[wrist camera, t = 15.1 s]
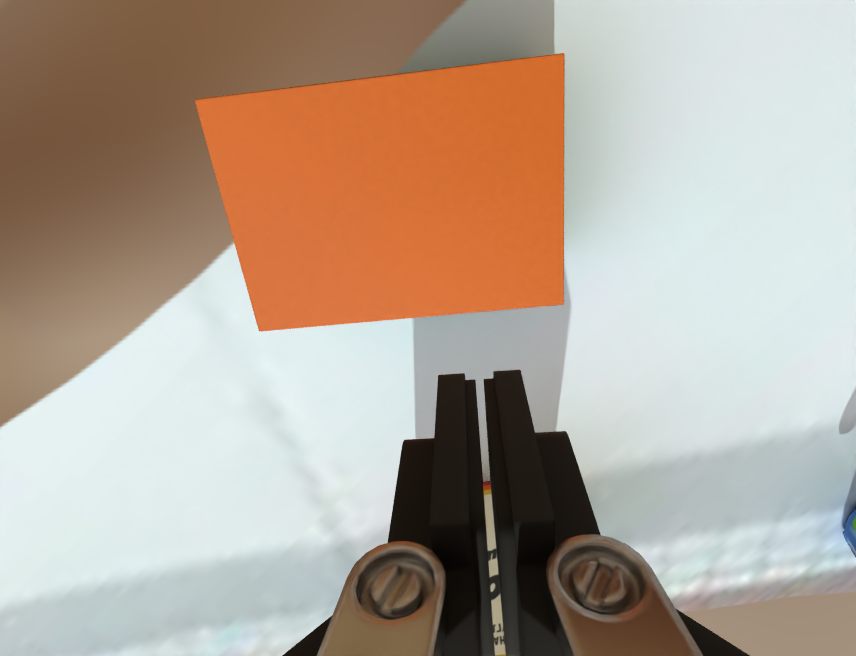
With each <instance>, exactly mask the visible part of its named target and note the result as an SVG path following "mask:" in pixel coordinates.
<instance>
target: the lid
mask: <svg viewBox="0 0 856 656" xmlns="http://www.w3.org/2000/svg"><path fill="white" fill-rule="evenodd" d="M195 103H196V106H197V110H198V114H199V117H200V121H201V124H202V128H203V131H204V135H205V139H206V142H207V146H208V150H209V153H210V157H211V160H212V164H213V167H214V171H215V175H216V178H217V182H218V185H219V189H220V192H221V196H222V200H223V203H224V207H225V210H226V214H227V218H228V221H229V225H230V228H231V232H232V236H233V239H234V243H235V246H236V250H237V254H238V257H239V261H240V264H241V268H242V272H243V275H244V279H245V282H246V286H247V289H248V293H249V297H250V300H251V304H252V307H253V311H254V315H255V318H256V322H257V325H258V329H259V331H269V330H280V329H291V328H303V327H314V326H325V325H337V324H348V323H359V322H371V321H382V320H393V319H405V318H416V317H427V316H439V315H450V314H461V313H473V312H484V311H495V310H506V309H518V308H529V307H540V306H552V305H563V303H564V54H563V53H562V54H554V55H546V56H538V57H530V58H522V59H514V60H506V61H498V62H490V63H482V64H474V65H466V66H458V67H450V68H442V69H434V70H426V71H418V72H410V73H402V74H394V75H387V76H379V77H370V78H362V79H354V80H346V81H339V82H331V83H323V84H315V85H306V86H298V87H290V88H283V89H275V90H267V91H259V92H251V93H243V94H235V95H227V96H219V97H211V98H203V99H196V100H195Z"/></svg>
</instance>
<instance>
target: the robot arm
mask: <svg viewBox="0 0 856 656" xmlns="http://www.w3.org/2000/svg"><path fill="white" fill-rule="evenodd" d="M484 392H485V407H486V422H487V437H488V452H489V467H490V481H491V495H492V506H493V517H494V529H495V540H496V551H497V563H498V574H499V585H500V597H501V608H502V619H503V631H504V642H505V653H506V656H749V655H748V654H746V653H745V652H743V651H741V650H740V649H738V648H737V647H735V646H734V645H732V644H731V643H729V642H727V641H726V640H724V639H723V638H721V637H719V636H718V635H716V634H715V633H713V632H712V631H710V630H708V629H707V628H705V627H704V626H702V625H701V624H699V623H697V622H696V621H694V620H693V619H691V618H690V617H688V616H686V615H685V614H683V613H682V612H680V611H678V610H677V609H675V607H674V606H673V604H672V602H671V601H670V599H669V597H668V595H667V594H666V592H665V590H664V589H663V587H662V585H661V584H660V582H659V580H658V579H657V577H656V575H655V574H654V572H653V570H652V569H651V567H650V566H649V565H648V563H647V562H646V561H645V560H644V558H643V557H642V556H641V555H640V554H639V553H638V552H636V551H635V550H634V549H632V548H631V547H630V546H628V545H627V544H625V543H622V542H620V541H618V540H616V539H614V538H611V537H606V536H601V535H600V532H599V529H598V526H597V522H596V519H595V516H594V513H593V510H592V507H591V504H590V501H589V498H588V495H587V492H586V489H585V486H584V483H583V479H582V476H581V473H580V470H579V467H578V464H577V461H576V458H575V455H574V452H573V449H572V446H571V443H570V439H569V437H568V434H567V433H566V432H565V431H562V432H543V433H535V431H534V427H533V423H532V418H531V414H530V410H529V405H528V401H527V397H526V392H525V388H524V384H523V379H522V375H521V371H520V370H509V371H494V378H493V379H484ZM283 656H495V647H494V633H493V619H492V604H491V590H490V575H489V561H488V547H487V532H486V518H485V504H484V489H483V476H482V463H481V449H480V436H479V422H478V409H477V396H476V382H475V380H465V374H464V373H463V374H448V375H438V389H437V405H436V422H435V438H431V439H412V440H404V442H403V445H402V451H401V458H400V464H399V471H398V478H397V484H396V491H395V498H394V504H393V511H392V518H391V524H390V531H389V538H388V543H387V544H383V545H380V546H377V547H376V548H374V549H372V550H371V551H369V552H367V553H366V554H365V555H364V556H363V557H362V558H361V559H360V560H359V561H357V562H356V563H355V565H354V567H353V568H352V570H351V572H350V574H349V575H348V577H347V580H346V582H345V585H344V587H343V590H342V593H341V595H340V598H339V600H338V603H337V605H336V608H335V611H334V613H333V615H332V616H331V617H330V618H329V619H327V620H326V621H325V622H324V623H322V624H321V625H320V626H319V627H317V628H316V629H315V630H314V631H312V632H311V633H310V634H309V635H307V636H306V637H305V638H304V639H302V640H301V641H300V642H299V643H297V644H296V645H295V646H294V647H293V648H291V649H290V650H289V651H288V652H286V653H285V654H284V655H283Z"/></svg>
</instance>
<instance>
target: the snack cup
mask: <svg viewBox="0 0 856 656" xmlns="http://www.w3.org/2000/svg"><path fill="white" fill-rule="evenodd" d="M843 534H844V538H845V540H846V541H847V543H848V545H849V546H850V548H851V550H852V552H853V554H854V555H855V557H856V509H855V510H854V511H853V512H852V513H851V515H850V516H849V518H848V520H847V522H846V525H845V531H843Z"/></svg>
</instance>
